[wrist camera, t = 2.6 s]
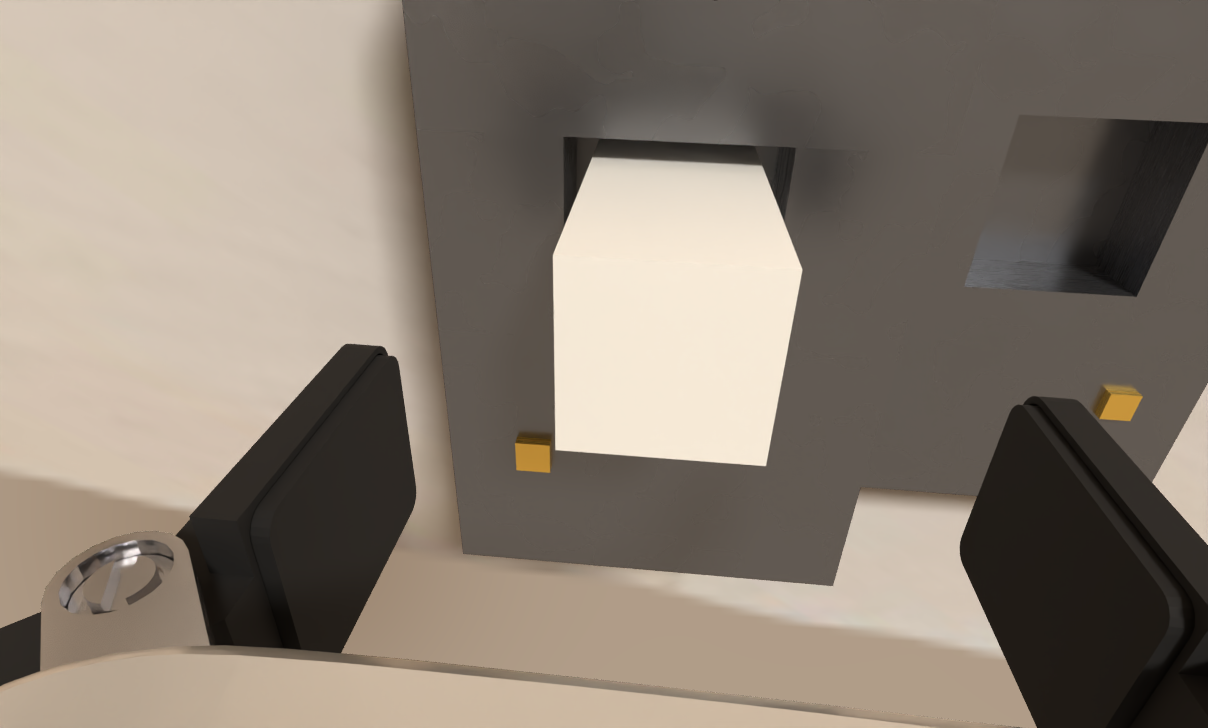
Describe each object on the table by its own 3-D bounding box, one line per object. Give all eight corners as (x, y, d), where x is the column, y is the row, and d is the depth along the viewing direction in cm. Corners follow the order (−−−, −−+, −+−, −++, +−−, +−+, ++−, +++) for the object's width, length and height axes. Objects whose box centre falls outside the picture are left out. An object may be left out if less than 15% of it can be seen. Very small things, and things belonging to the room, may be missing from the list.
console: (485, -256, 19) (352, -397, 11) (1411, -245, 18) (2006, -401, 10) (516, 401, 31) (460, 560, 23) (1083, 442, 29) (1235, 628, 21)
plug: (599, 138, 18) (552, 255, 11) (754, 146, 18) (802, 269, 11) (596, 295, 20) (555, 470, 14) (733, 303, 20) (762, 486, 13)
